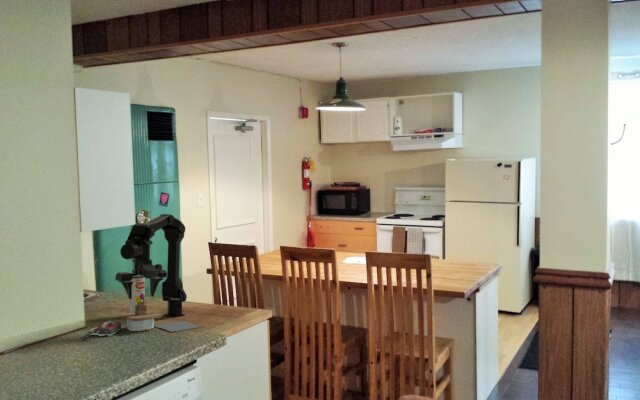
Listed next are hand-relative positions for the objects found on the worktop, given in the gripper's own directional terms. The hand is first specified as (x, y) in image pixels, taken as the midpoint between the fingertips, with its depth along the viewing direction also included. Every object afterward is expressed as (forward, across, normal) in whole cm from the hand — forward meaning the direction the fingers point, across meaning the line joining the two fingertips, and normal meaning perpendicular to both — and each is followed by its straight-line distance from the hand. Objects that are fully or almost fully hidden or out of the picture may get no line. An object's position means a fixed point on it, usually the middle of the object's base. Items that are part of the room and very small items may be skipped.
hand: (141, 297), depth 217 cm
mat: (+12, +12, -7) cm, 18 cm away
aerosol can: (+12, +10, +22) cm, 27 cm away
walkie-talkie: (+13, -15, +1) cm, 19 cm away
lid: (+8, 0, 0) cm, 8 cm away
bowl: (+12, 0, 0) cm, 12 cm away
